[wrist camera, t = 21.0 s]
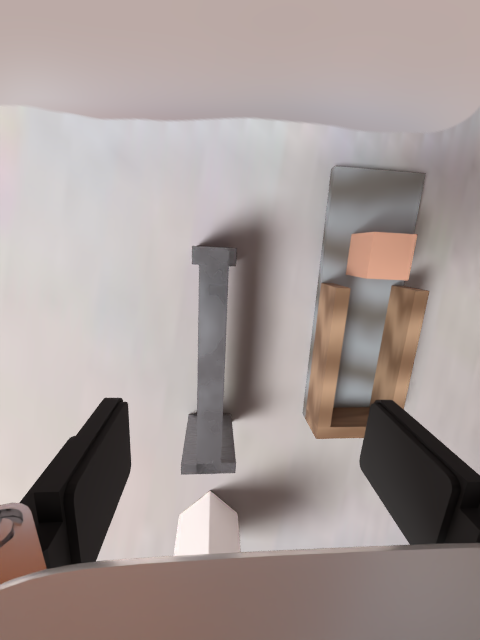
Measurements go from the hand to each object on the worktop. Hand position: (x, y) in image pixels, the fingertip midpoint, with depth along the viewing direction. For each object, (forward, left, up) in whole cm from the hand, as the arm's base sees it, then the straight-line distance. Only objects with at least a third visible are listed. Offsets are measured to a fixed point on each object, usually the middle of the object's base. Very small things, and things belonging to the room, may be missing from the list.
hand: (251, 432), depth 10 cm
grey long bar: (+3, +3, -22) cm, 23 cm away
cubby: (-14, +6, -22) cm, 27 cm away
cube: (-17, 0, -21) cm, 27 cm away
